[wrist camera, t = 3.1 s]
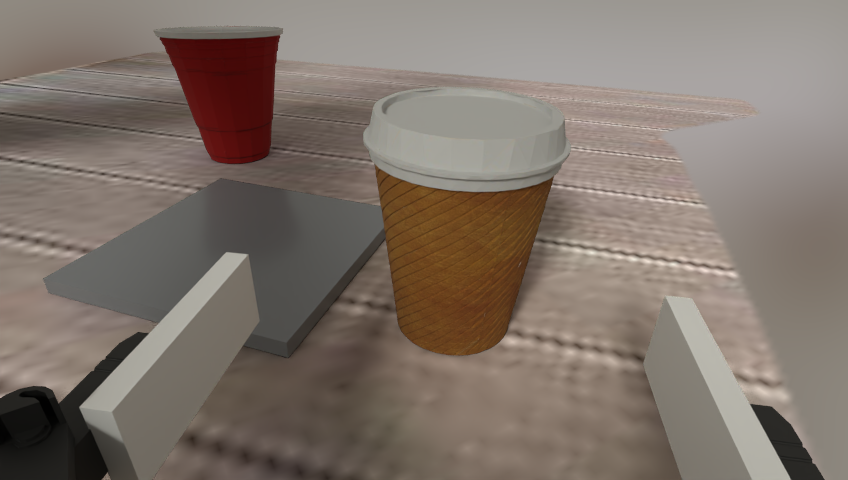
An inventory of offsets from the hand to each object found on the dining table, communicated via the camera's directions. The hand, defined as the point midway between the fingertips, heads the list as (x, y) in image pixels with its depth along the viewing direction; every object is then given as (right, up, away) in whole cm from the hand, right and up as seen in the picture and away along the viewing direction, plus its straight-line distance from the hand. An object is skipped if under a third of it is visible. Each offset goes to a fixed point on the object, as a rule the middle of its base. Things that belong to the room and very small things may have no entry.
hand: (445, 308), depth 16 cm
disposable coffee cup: (+1, -2, +13) cm, 13 cm away
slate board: (-13, +1, +18) cm, 22 cm away
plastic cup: (-19, +11, +34) cm, 41 cm away
